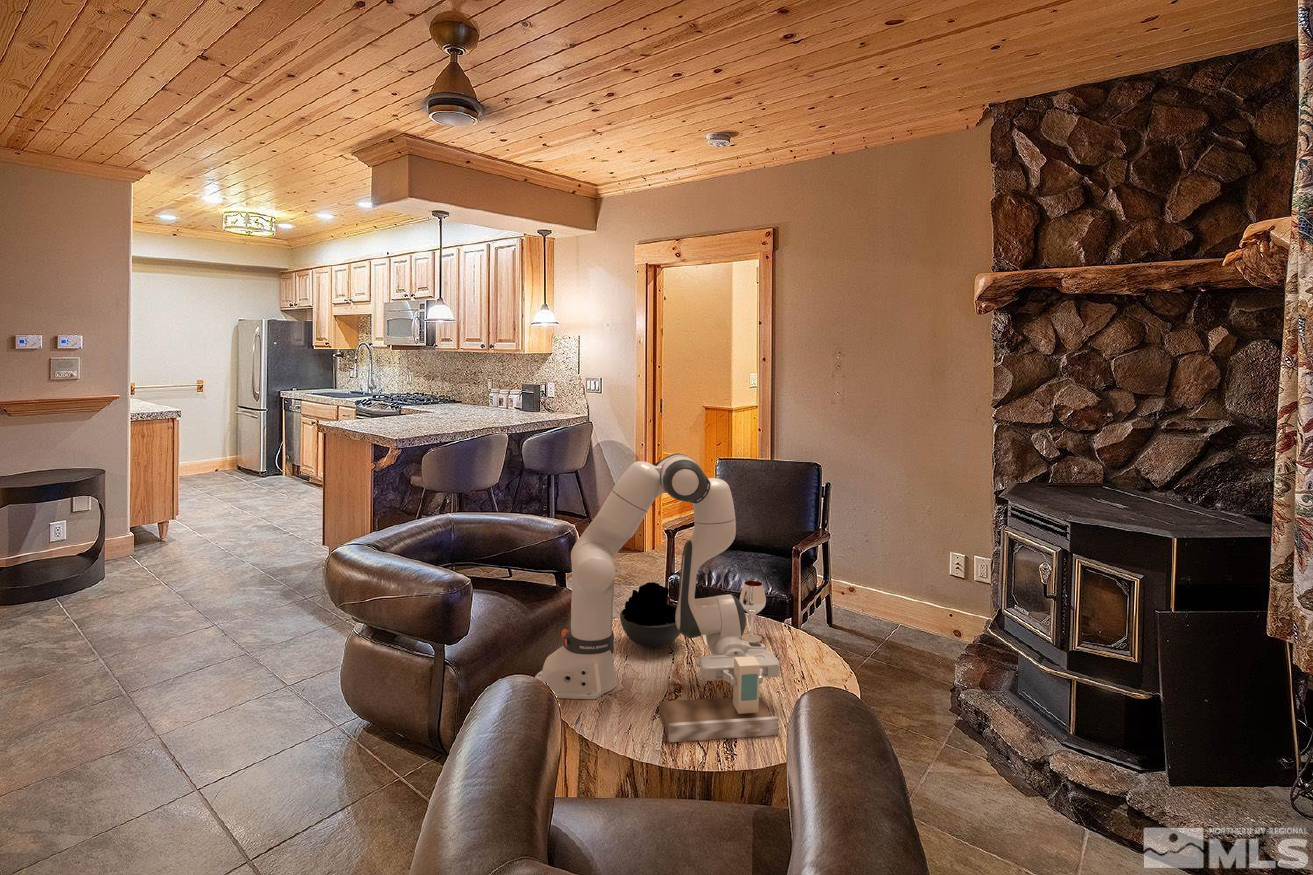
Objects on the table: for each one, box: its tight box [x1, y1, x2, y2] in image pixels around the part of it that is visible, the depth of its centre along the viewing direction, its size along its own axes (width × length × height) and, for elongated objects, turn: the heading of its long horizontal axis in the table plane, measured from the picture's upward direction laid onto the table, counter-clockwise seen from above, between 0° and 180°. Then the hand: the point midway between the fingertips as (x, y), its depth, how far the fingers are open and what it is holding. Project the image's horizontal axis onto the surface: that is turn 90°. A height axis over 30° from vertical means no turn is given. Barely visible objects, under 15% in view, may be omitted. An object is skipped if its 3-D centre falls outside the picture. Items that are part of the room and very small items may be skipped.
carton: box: [732, 656, 760, 714], centre depth 169 cm, size 5×5×12 cm
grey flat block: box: [658, 696, 779, 743], centre depth 170 cm, size 26×16×4 cm, turn 99°
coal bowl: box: [619, 581, 681, 650], centre depth 212 cm, size 20×20×19 cm
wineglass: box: [739, 580, 767, 643], centre depth 219 cm, size 8×8×18 cm
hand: (747, 681), depth 169 cm, fingers closed on carton, 5 cm apart
